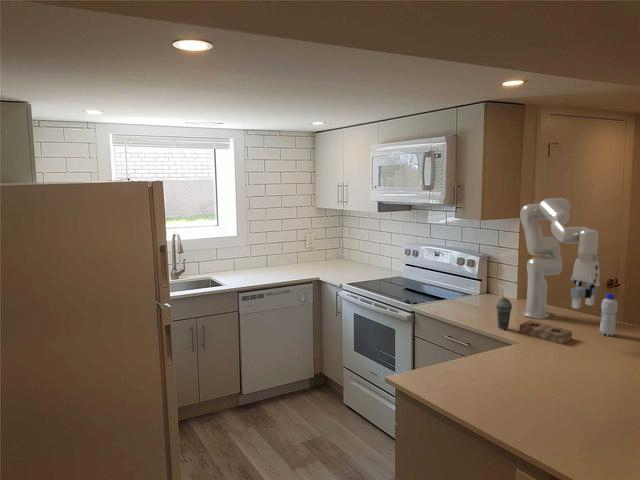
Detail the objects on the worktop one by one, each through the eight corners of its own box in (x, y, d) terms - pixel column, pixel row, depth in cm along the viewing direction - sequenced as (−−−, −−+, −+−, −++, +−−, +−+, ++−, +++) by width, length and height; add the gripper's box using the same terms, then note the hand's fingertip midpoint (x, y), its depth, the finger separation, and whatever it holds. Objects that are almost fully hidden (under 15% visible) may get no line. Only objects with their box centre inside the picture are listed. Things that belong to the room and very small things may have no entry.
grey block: (588, 302, 221) (590, 284, 220) (595, 304, 218) (597, 285, 217) (569, 307, 215) (571, 288, 213) (576, 309, 212) (578, 290, 210)
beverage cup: (508, 332, 230) (510, 292, 227) (493, 329, 234) (495, 290, 231) (512, 328, 236) (514, 289, 232) (497, 325, 240) (499, 286, 237)
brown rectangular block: (519, 332, 229) (519, 324, 229) (529, 327, 235) (530, 320, 235) (561, 344, 214) (561, 335, 213) (571, 339, 220) (571, 330, 219)
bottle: (599, 335, 224) (602, 294, 221) (598, 331, 230) (601, 291, 227) (615, 337, 221) (619, 296, 218) (614, 333, 227) (618, 292, 224)
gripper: (610, 259, 207) (606, 299, 210) (574, 253, 221) (571, 291, 225) (600, 261, 204) (596, 302, 207) (564, 254, 218) (561, 293, 221)
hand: (583, 296), depth 216 cm, fingers closed on grey block, 3 cm apart
